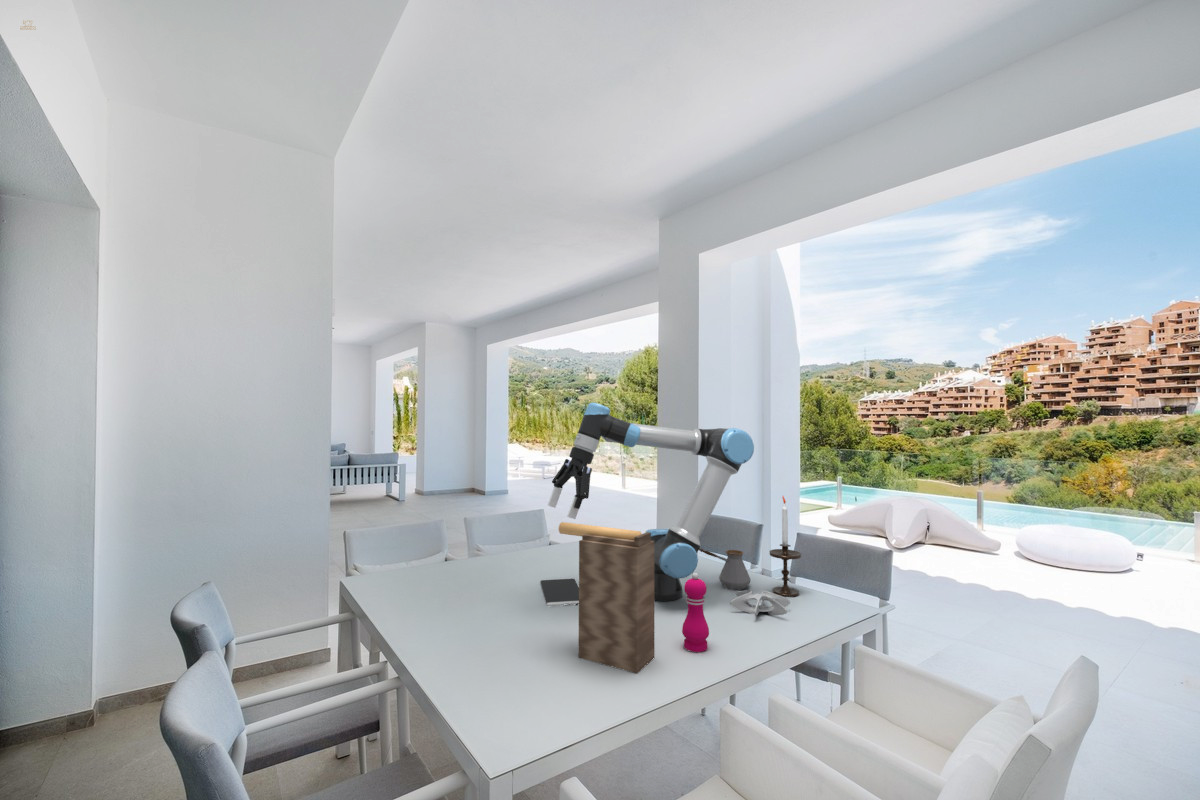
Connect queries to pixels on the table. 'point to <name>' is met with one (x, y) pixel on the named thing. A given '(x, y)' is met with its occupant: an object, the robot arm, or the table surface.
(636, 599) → the stand
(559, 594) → the smartphone
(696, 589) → the pepper mill
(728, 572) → the coffee pot
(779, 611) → the sculpture
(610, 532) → the pin
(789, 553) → the candlestick
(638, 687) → the table surface
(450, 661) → the table surface
